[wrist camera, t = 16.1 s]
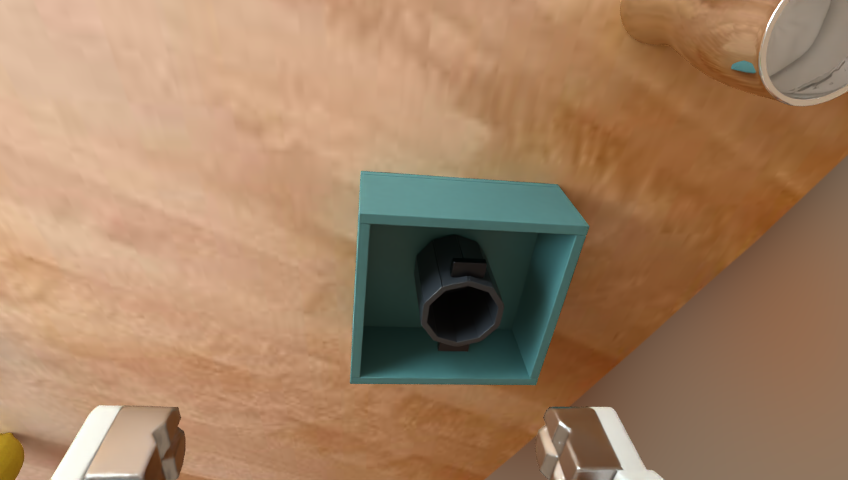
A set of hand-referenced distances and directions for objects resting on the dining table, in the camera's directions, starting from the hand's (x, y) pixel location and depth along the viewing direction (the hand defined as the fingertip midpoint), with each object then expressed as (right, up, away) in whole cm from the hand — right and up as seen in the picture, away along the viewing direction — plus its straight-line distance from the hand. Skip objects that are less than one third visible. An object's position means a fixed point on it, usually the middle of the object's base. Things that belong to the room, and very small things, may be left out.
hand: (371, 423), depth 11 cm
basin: (+3, +2, +33) cm, 34 cm away
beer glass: (+18, +21, +23) cm, 36 cm away
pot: (+4, +2, +33) cm, 33 cm away
